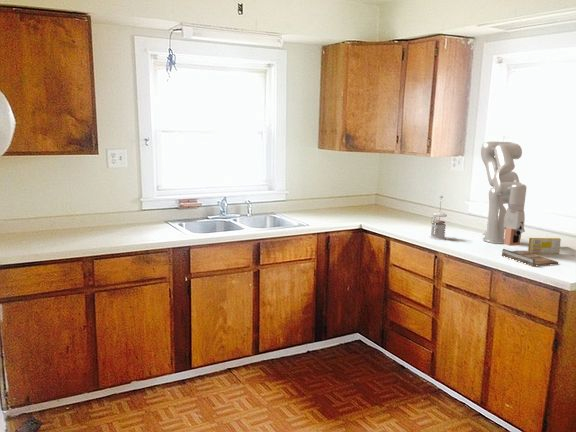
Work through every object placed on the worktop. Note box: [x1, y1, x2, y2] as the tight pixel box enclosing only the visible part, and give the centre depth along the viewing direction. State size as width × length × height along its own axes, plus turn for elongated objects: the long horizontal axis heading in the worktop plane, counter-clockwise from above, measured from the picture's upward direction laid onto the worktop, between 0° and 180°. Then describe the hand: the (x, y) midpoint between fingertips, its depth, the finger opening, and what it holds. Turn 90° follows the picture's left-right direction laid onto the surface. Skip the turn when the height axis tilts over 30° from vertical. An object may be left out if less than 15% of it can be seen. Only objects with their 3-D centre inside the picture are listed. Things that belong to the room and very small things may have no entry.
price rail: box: [501, 248, 535, 264], centre depth 247 cm, size 20×1×2 cm, turn 20°
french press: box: [428, 195, 448, 241], centre depth 293 cm, size 10×12×25 cm
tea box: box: [503, 227, 522, 247], centre depth 267 cm, size 4×7×9 cm, turn 110°
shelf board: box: [501, 251, 559, 267], centre depth 250 cm, size 20×16×1 cm
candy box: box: [527, 237, 562, 255], centre depth 265 cm, size 16×2×8 cm, turn 93°
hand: (512, 241), depth 267 cm, fingers closed on tea box, 4 cm apart
